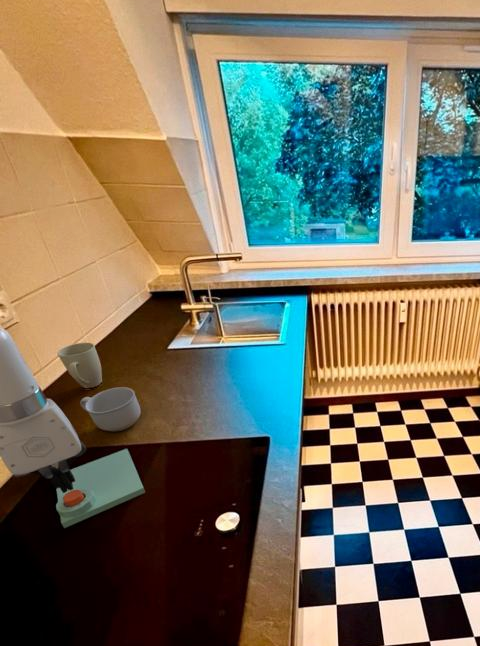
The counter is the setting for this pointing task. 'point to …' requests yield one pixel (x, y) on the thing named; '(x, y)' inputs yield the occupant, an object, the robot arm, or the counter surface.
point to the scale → (101, 487)
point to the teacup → (113, 408)
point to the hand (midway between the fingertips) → (67, 486)
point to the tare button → (73, 498)
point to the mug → (82, 363)
